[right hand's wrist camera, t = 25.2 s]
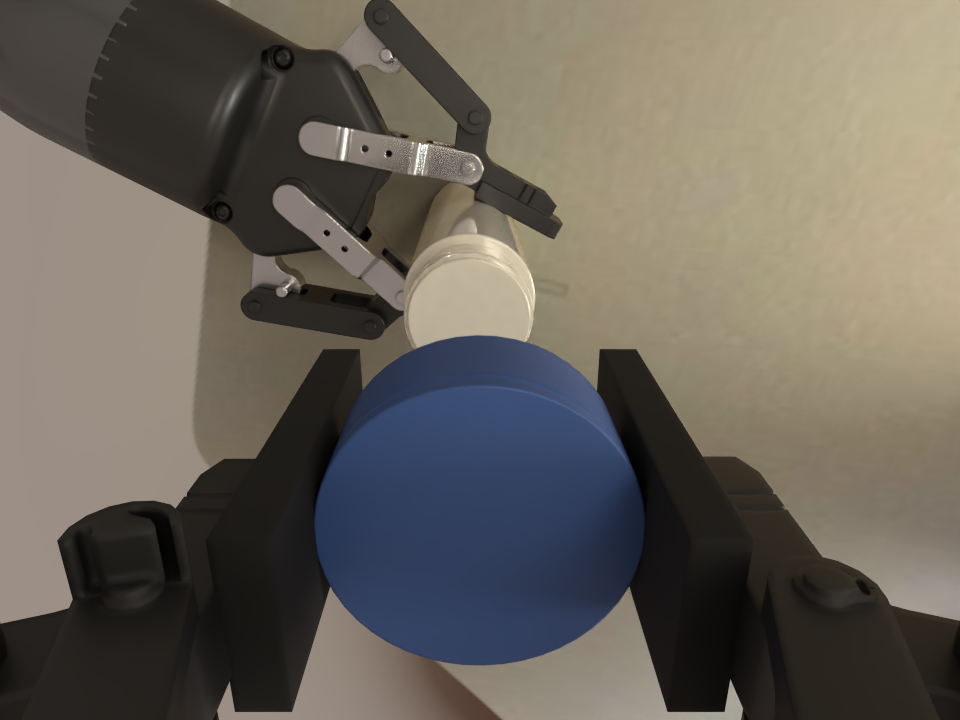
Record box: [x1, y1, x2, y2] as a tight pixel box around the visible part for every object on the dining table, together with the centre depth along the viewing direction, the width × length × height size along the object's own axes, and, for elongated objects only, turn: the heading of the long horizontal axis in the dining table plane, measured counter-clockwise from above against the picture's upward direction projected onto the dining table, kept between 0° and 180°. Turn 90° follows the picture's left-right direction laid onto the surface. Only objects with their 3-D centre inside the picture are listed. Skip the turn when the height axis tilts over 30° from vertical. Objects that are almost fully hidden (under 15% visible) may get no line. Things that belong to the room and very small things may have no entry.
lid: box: [314, 335, 646, 665], centre depth 11 cm, size 5×5×2 cm
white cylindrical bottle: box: [403, 182, 535, 350], centre depth 27 cm, size 4×4×16 cm
